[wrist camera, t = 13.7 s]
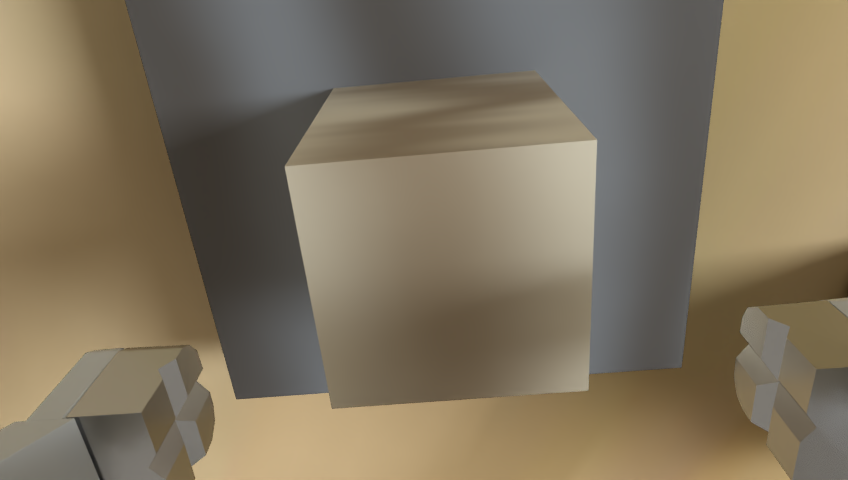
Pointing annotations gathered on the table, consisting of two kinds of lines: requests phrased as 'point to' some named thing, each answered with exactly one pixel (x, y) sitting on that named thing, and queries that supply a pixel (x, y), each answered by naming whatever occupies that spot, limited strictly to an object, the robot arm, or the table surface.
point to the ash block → (447, 239)
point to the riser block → (414, 61)
